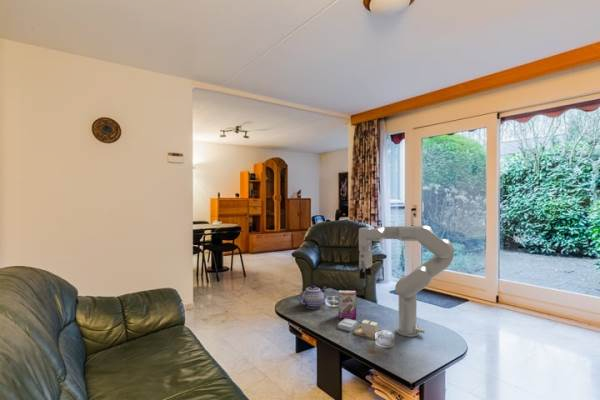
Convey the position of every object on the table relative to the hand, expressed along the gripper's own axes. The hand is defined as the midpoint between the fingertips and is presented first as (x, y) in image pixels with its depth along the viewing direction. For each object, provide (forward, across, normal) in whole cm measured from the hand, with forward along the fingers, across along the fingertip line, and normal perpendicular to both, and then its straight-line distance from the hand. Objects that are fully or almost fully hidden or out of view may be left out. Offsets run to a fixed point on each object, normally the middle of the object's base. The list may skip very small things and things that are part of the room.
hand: (365, 276), depth 180 cm
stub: (+28, -12, -7) cm, 31 cm away
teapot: (+29, +6, +41) cm, 50 cm away
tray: (+28, -12, -6) cm, 31 cm away
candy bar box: (+28, +2, +13) cm, 31 cm away
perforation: (+28, -17, +7) cm, 34 cm away
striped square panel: (+28, -10, +7) cm, 31 cm away
